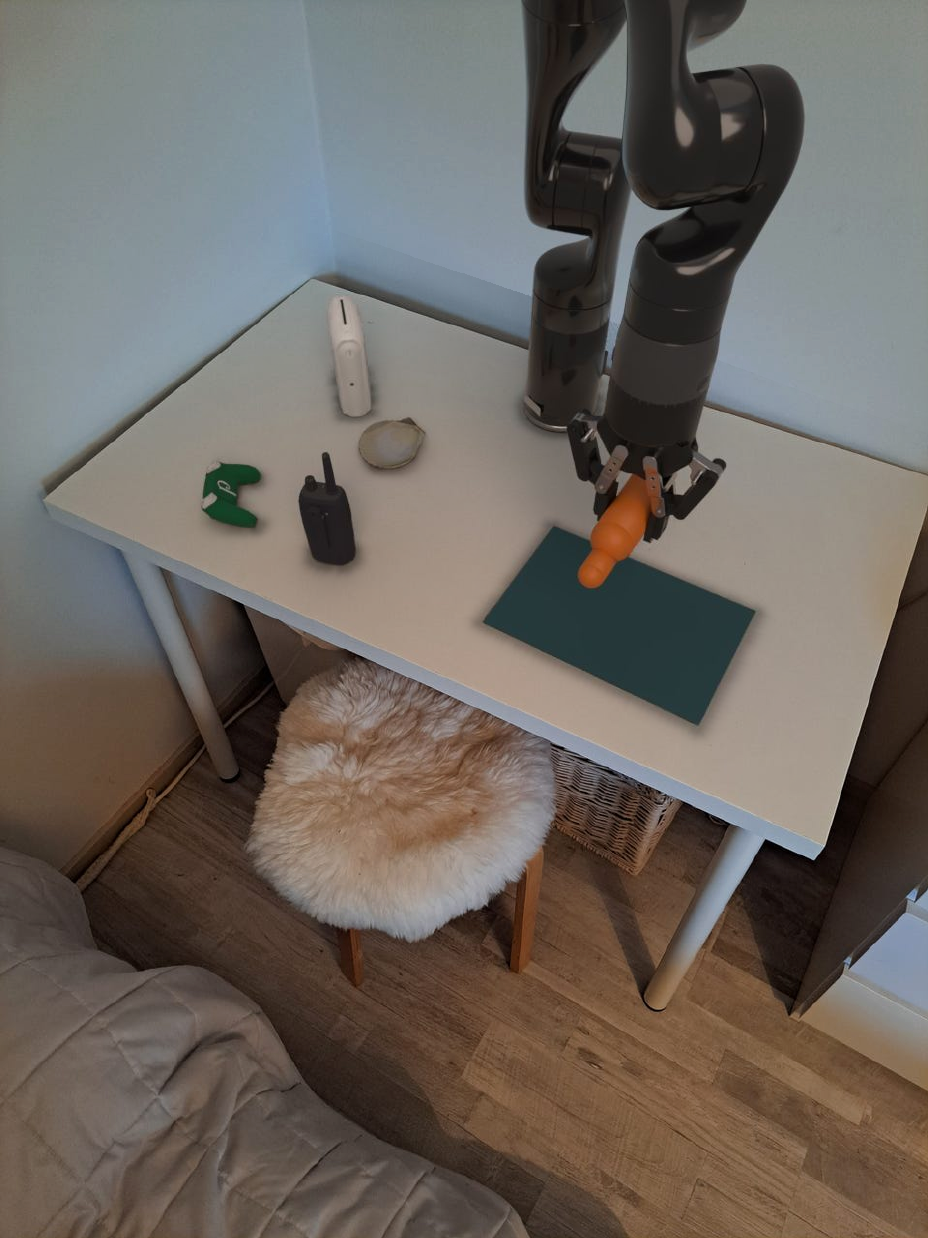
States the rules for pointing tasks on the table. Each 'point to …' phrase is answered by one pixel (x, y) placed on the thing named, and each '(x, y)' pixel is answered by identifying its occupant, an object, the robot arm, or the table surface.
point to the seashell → (391, 443)
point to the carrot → (617, 532)
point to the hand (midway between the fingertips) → (627, 525)
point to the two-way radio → (327, 518)
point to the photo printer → (349, 356)
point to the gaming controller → (228, 493)
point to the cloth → (624, 625)
